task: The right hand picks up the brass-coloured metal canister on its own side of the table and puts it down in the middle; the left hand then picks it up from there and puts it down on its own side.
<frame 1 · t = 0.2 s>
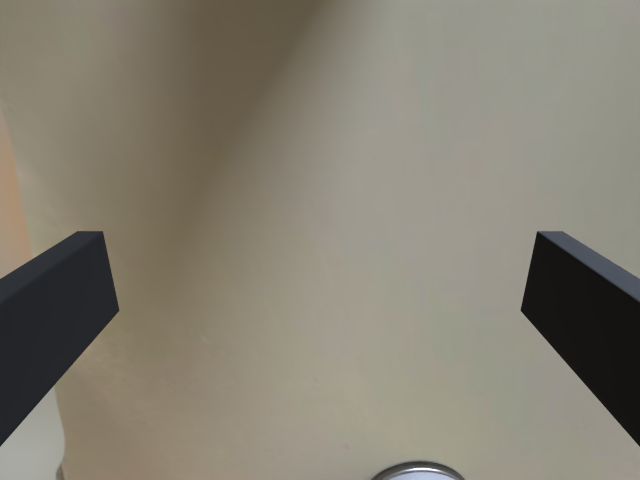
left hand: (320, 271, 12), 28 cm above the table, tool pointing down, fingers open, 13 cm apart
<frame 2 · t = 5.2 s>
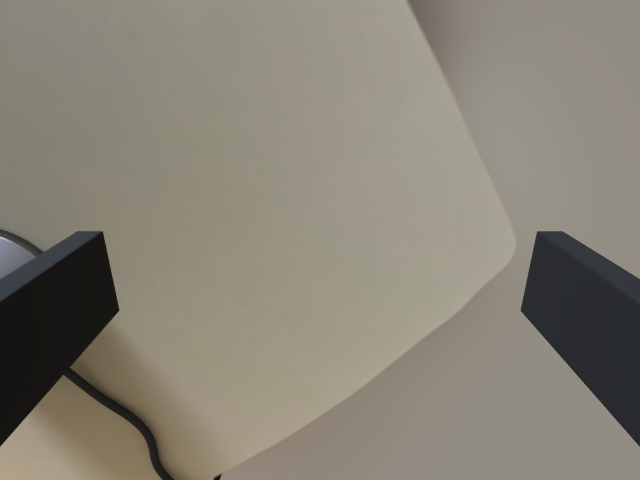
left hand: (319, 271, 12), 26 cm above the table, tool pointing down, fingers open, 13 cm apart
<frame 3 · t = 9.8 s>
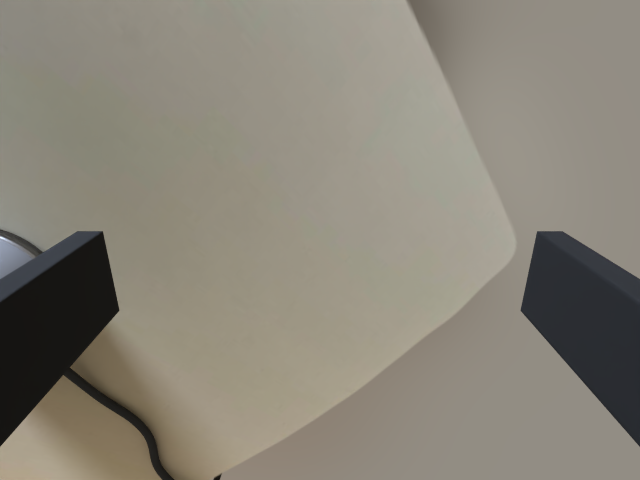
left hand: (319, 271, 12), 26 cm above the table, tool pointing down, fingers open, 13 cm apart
when the right hand's fingers open (4 cm above the table, at t = 14.4 s): canister drops 2 cm, on the table.
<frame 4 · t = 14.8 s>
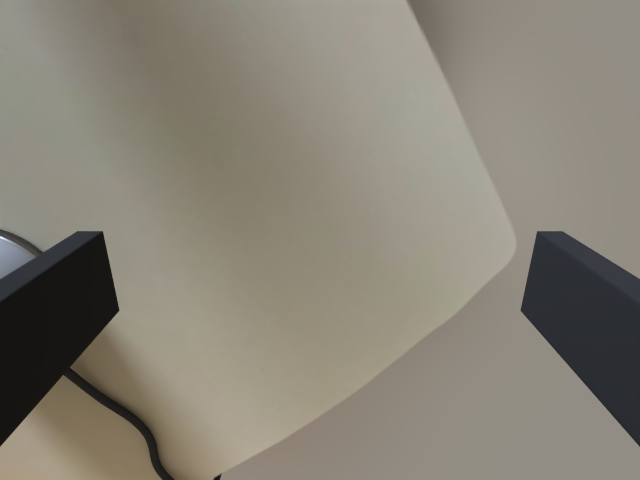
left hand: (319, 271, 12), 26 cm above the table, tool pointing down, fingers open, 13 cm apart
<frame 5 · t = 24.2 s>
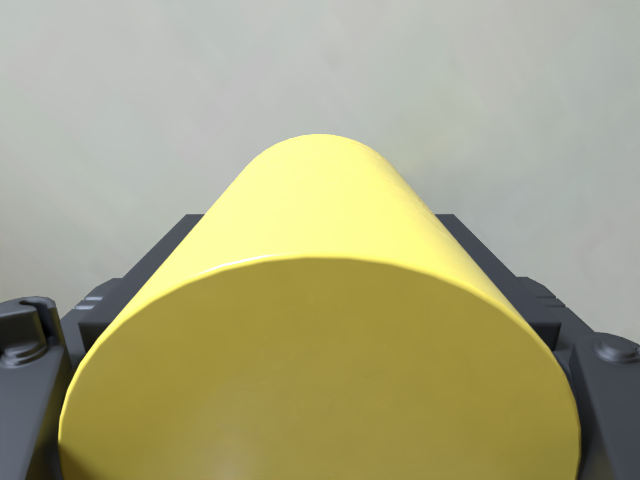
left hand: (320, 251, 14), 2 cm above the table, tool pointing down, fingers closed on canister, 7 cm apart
canister: (319, 231, 16), on the table, touching left hand
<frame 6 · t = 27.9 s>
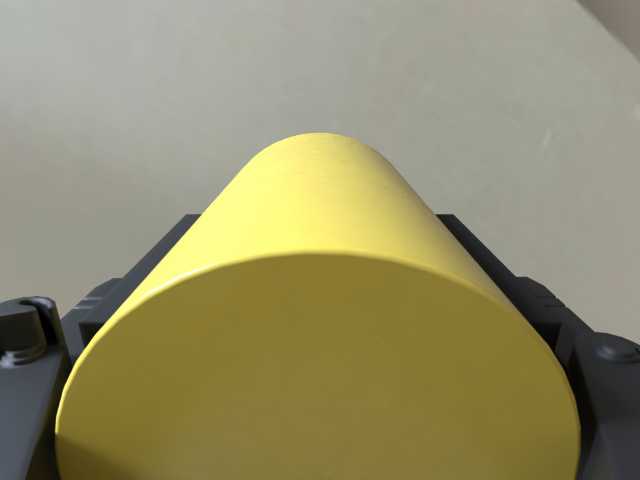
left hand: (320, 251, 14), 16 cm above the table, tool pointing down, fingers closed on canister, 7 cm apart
canister: (319, 230, 16), point 14 cm above the table, touching left hand
when the left hand's fingers open (4 cm above the table, at t = 31.9 s): canister drops 2 cm, on the table.
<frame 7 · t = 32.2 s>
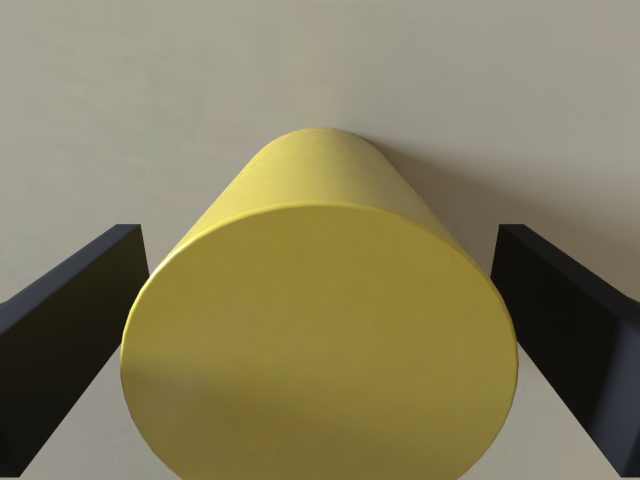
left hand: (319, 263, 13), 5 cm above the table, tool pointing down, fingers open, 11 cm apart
canister: (319, 215, 18), on the table
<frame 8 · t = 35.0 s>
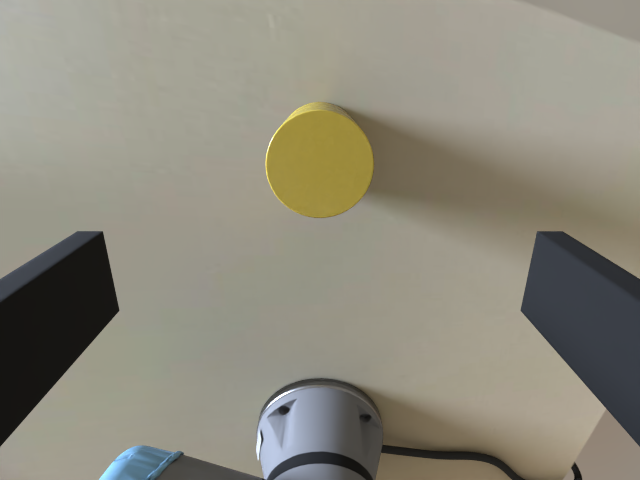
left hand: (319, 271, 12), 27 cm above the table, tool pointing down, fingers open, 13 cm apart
canister: (319, 144, 38), on the table
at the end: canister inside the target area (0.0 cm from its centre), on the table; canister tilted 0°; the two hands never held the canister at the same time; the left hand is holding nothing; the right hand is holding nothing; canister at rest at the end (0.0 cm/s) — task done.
